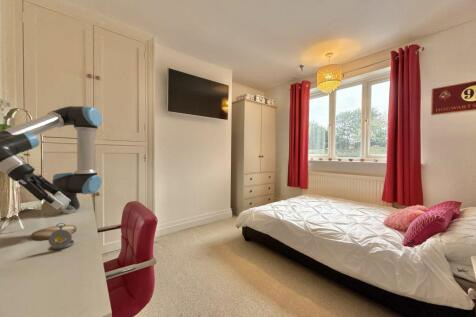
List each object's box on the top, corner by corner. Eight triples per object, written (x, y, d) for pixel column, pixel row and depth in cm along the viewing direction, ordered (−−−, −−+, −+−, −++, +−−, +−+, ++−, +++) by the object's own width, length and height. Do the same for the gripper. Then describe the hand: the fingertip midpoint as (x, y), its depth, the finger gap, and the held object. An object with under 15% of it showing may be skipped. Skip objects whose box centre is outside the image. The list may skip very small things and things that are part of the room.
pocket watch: (69, 241, 82) (69, 216, 82) (79, 245, 78) (80, 220, 78) (42, 248, 75) (43, 222, 75) (52, 254, 71) (53, 226, 71)
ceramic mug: (39, 216, 83) (40, 198, 83) (47, 211, 91) (48, 194, 91) (71, 215, 88) (72, 197, 88) (76, 210, 95) (77, 194, 95)
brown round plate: (41, 229, 93) (41, 226, 93) (81, 225, 99) (81, 223, 99) (22, 242, 79) (22, 239, 79) (69, 237, 85) (69, 234, 85)
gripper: (23, 173, 92) (65, 205, 98) (-11, 177, 73) (45, 217, 79) (38, 161, 94) (79, 194, 101) (10, 163, 75) (62, 203, 81)
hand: (64, 204), depth 90 cm, fingers closed on ceramic mug, 8 cm apart
